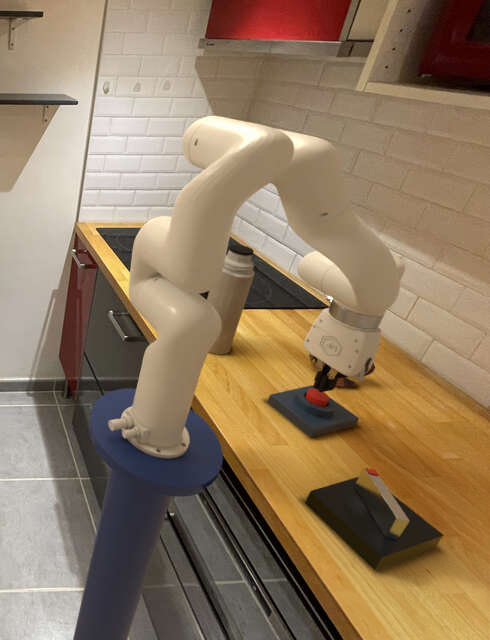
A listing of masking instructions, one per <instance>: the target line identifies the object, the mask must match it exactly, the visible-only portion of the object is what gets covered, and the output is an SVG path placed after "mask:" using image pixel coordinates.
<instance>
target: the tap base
mask: <svg viewBox="0 0 490 640" xmlns="http://www.w3.org/2000/svg"><path fill="white" fill-rule="evenodd" d="M358 478H359V476H357V477H352V478H349V479H346V480H343V481H339V482H335V483H332V484H329V485H324V486H322V487H319V488H315V489H312V490H310V491H309V493H308V495H307V497H306V499H305V501H304V504H305V505H306V506H307V507H308V508H309V509H310V510H311V511H312V512H313V513H315V515H317V516H318V518H320V519H321V520H322V521H323V522H324V523H325V524H326V525H327V526H328V527H329V528H330V529H331V530H332V531H333V532H334V533H335V534H337V535H338V537H339V538H340V539H341V540H342V541H344V542H345V543H346V544H347V545H348V546H349V547H350V548H351V549H352V550H353V551H354V552H355V553H356V554H357V555H358V556H359V557H360V558H361V559H362V560H363V561H365V563H366V564H367V565H368V566H370V568H371V569H373V570H374V571H376V570H377V569H380V568H384V567H386V566H389V565H391V564H394V563H397V562H399V561H402V560H405V559H408V558H411V557H413V556H416V555H419V554H421V553H425V552H426V551H429V550H432V549H435V548H436V547H437V546H438V544H439V543H440V541H442V539H443V538H444V536H445V534H443V533H442V532H440V531H439V530H438V529H437V528H435V527H434V526H433V525H432V524H430V523H429V522H428V521H427V520H425V519H424V518H423V517H422V516H420V515H419V514H418V513H416V511H414V510H413V509H412V508H410V507H409V506H408V505H407V504H406V503H404V502H403V501H402V500H401V499H399V498H398V497H397V496H396V495H394V494H393V493H392V492H390V493H391V494H392V496H393V497H394V498H395V500H396V501H397V503H398V504H399V506H400V507H401V509H402V510H403V512H404V513H405V515H406V516H407V518H408V519H409V523H408V524H407V526H406V528H405V529H404V531H403V532H402V534H401V535H400V537H399V538H398V540H394V539H390V538H385V536H384V535H383V533H382V532H381V530H380V528H379V527H378V525H377V523H376V522H375V520H374V518H373V517H372V515H371V513H370V512H369V510H368V508H367V507H366V505H365V503H364V502H363V500H362V499H361V497H360V495H359V494H358V492H357V490H356V489H355V487H354V485H355V483H356V482H357V480H358Z"/></svg>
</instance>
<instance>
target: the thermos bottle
mask: <svg viewBox="0 0 490 640" xmlns="http://www.w3.org/2000/svg"><path fill="white" fill-rule="evenodd" d="M227 251H228V252H227V254H226V257H225V262H224V266H223V270H222V274H221V276H220V279H219V281H218V283H217V284H216V285H215V287H214V288H212V289H211V290H209V291H208V295H207V298H206V300H207V301H208V302H209V303H210V304H211V305H212V306H213V307H214V308H215V309H216V311H217V312H218V314H219V316H220V318H221V323H222V328H221V332H220V334H219V336H218V338H217V340H216V341H215V343H214V344H213V346H212V348H211V349H210V351H209V353H211V354H215V355H226V354H228V353H230V351H231V348H232V345H233V342H234V339H235V335H236V332H237V330H238V326H239V324H240V320H241V317H242V314H243V311H244V308H245V305H246V302H247V299H248V296H249V293H250V290H251V286H252V284H253V280H254V277H255V271H254V270H253V269H254V268H255V267H254V266H255V265H254V262H253V261H252V257H253V255H254V249H253V248H251V247H249V246H247V245H243V244H231V245H230V246H229V250H227Z"/></svg>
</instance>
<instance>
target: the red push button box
mask: <svg viewBox="0 0 490 640" xmlns="http://www.w3.org/2000/svg"><path fill="white" fill-rule="evenodd" d="M313 385H314V384H311V385H307V386H302V387H298V388H293V389H290V390H289V389H288V390H284V391H280V392H275V393H271V394H269V397H268V400H267V404H269V405H270V406H271V407H272V408H274V409H275V410H277V411H278V412H279V413H280V414H281V415H283V416H284V417H285V418H286V419H287V420H288V421H290V422H291V423H292V424H293V425H295V426H296V427H297V428H298V429H300V430H301V431H302V432H303V433H304V434H306V435H307V436H308V437H309V438H314V437H319V436H323V435H327V434H330V433H334V432H338V431H342V430H347V429H350V428H353V427H356V426H357V424H358V422H359V420H360V418H359V417H358V416H357V415H355V414H354V413H352V412H351V411H350V410H348V409H347V408H346V407H344V406H343V405H341V404H340V403H339V402H337V401H336V400H335V399H333V398H332V397H331V396H329V401H328V403H327V405H326V406H325V407H321V406H317V405H315V404H312V403H311V402H309V401H308V400H306V398H305V396H306V394H307V392H308V390H309V389H315V388H314V387H313Z"/></svg>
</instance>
